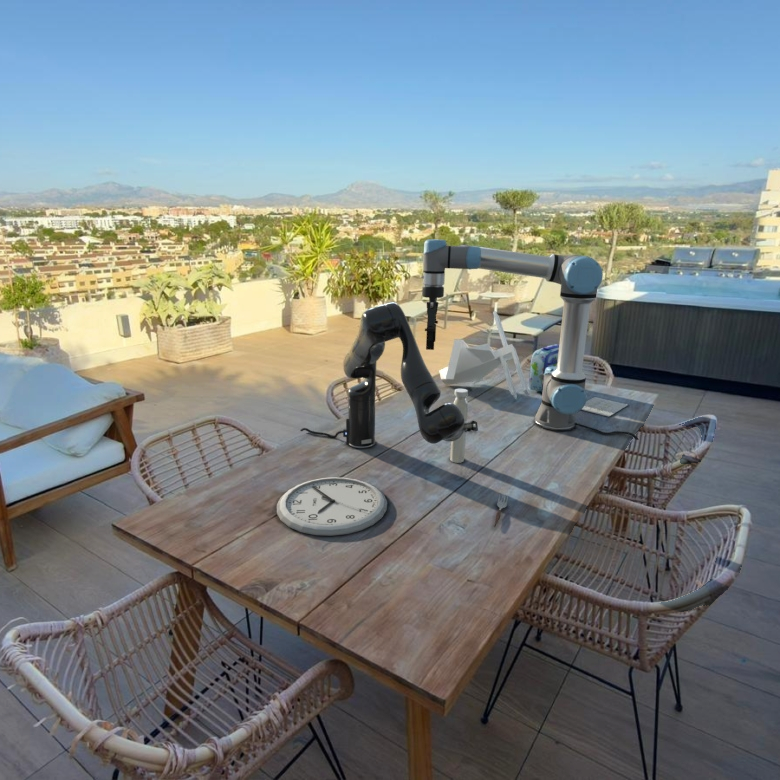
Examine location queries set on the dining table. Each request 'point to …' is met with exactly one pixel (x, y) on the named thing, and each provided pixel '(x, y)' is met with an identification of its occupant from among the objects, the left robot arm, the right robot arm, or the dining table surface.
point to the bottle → (459, 444)
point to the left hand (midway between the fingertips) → (453, 429)
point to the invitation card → (603, 406)
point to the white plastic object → (482, 362)
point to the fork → (500, 505)
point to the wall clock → (331, 506)
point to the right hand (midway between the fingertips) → (430, 345)
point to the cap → (461, 392)
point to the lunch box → (542, 365)
